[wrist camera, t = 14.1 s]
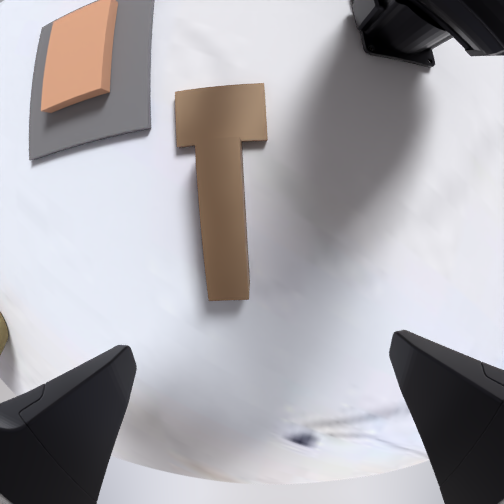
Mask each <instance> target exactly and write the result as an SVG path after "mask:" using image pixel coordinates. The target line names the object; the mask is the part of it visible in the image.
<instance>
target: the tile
mask: <svg viewBox="0 0 504 504" xmlns="http://www.w3.org/2000/svg"><path fill="white" fill-rule="evenodd" d="M117 8H118V2H117V1H116V0H99V1H97V2H94V3H92V4H90V5H87V6H85V7H83V8H81V9H78V10H76V11H74V12H72V13H70V14H68V15H66V16H64V17H62V18H60V19H58V20H56V21H54V22H53V26H52V30H51V35H50V40H49V45H48V50H47V56H46V63H45V70H44V78H43V88H42V100H41V111H43V112H48V113H52V112H55V111H57V110H60V109H62V108H65V107H68V106H70V105H73V104H76V103H78V102H81V101H84V100H87V99H90V98H93V97H96V96H99V95H102V94H106V93H109V92H110V78H111V61H112V48H113V38H114V29H115V22H116V14H117Z"/></svg>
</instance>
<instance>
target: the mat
mask: <svg viewBox="0 0 504 504" xmlns="http://www.w3.org/2000/svg"><path fill="white" fill-rule="evenodd" d="M97 1H99V0H97ZM97 1H95V2H97ZM116 1H117V2H118V8H117V14H116V22H115V29H114V38H113V48H112V61H111V78H110V92H109V93H106V94H102V95H99V96H96V97H93V98H90V99H87V100H84V101H81V102H78V103H76V104H73V105H70V106H68V107H65V108H62V109H60V110H57V111H55V112H52V113H48V112H43V111H41V100H42V88H43V78H44V70H45V63H46V56H47V50H48V45H49V40H50V35H51V30H52V26H53V22H54V21H53V22H51V23H49V24H48V25H46V26H44V27H42V30H41V34H40V39H39V44H38V49H37V54H36V60H35V66H34V73H33V81H32V90H31V101H30V117H29V160H35V159H38V158H41V157H43V156H46V155H49V154H52V153H55V152H58V151H62V150H65V149H68V148H71V147H75V146H78V145H82V144H85V143H89V142H92V141H96V140H100V139H104V138H108V137H112V136H117V135H121V134H126V133H130V132H135V131H140V130H145V129H150V128H151V107H150V67H151V39H152V23H153V10H154V0H116ZM92 3H94V2H92ZM92 3H90V4H92ZM90 4H88V5H90ZM86 6H87V5H86ZM83 7H85V6H83ZM83 7H81V8H83ZM81 8H79V9H81ZM77 10H78V9H77ZM75 11H76V10H75ZM73 12H74V11H73ZM70 13H72V12H70ZM70 13H68V14H70ZM68 14H66V15H68ZM66 15H64V16H66ZM64 16H62V17H64ZM62 17H61V18H62ZM59 19H60V18H59ZM57 20H58V19H57ZM55 21H56V20H55Z"/></svg>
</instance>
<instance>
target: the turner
mask: <svg viewBox="0 0 504 504" xmlns="http://www.w3.org/2000/svg"><path fill="white" fill-rule="evenodd" d="M175 114H176V140H177V147H179V148H181V147H190V146H195V155H196V172H197V186H198V199H199V212H200V223H201V234H202V245H203V255H204V264H205V273H206V282H207V291H208V299H209V301H221V300H249V288H250V278H249V261H248V244H247V227H246V209H245V192H244V174H243V156H242V142H249V141H267V140H268V139H267V122H266V106H265V90H264V83H258V84H239V85H226V86H216V87H206V88H198V89H191V90H184V91H177V92H175Z"/></svg>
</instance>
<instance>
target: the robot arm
mask: <svg viewBox="0 0 504 504" xmlns="http://www.w3.org/2000/svg"><path fill="white" fill-rule="evenodd" d="M352 8H353V12H354V16H355V21H356V25H357V28H358V29H359V30H360V32H361V37H362V42H363V47H364V50H365V52H366V53H368V54H370V55H375V56H380V57H386V58H391V59H396V60H401V61H405V62H410V63H414V64H418V65H422V66H425V67H430V68H431V67H433V66H434V65H435V61H434V56H433V52H432V49H433V48H435V47H437V46H438V45H440V44H442V43H444V42H446V41H447V40H449V39H451V38H455V39H456V40H457V41H458V42H459V43H460V44H461V45H462V46H463V47H464V48H465V51H466V52H467V53H468V54H469V55H470V56H493V55H504V0H353V4H352ZM369 47H371V48H372V49H373V50H370V49H369ZM428 60H429V61H430V63H429V62H428ZM389 356H390V360H391V363H392V366H393V369H394V372H395V375H396V378H397V381H398V384H399V387H400V390H401V392H402V395H403V397H404V399H405V401H406V404H407V406H408V408H409V410H410V413H411V415H412V417H413V420H414V422H415V424H416V427H417V429H418V432H419V434H420V437H421V439H422V441H423V444H424V446H425V449H426V452H427V454H428V457H429V459H430V462H431V465H432V467H433V470H434V473H435V476H436V478H437V481H438V484H439V486H440V491H441V494H442V497H443V500H444V503H445V504H504V370H502V369H499V368H496V367H494V366H491V365H489V364H486V363H484V362H481V361H479V360H476V359H474V358H471V357H469V356H467V355H464V354H462V353H459V352H457V351H454V350H452V349H450V348H447V347H445V346H442V345H440V344H438V343H435V342H433V341H430V340H428V339H426V338H423V337H421V336H418V335H416V334H414V333H411V332H409V331H407V330H401V331H396V332H394V334H393V337H392V341H391V346H390V351H389ZM136 369H137V368H136V362H135V359H134V356H133V353H132V350H131V348H130V347H129V346H128V345H117V346H115V347H114V348H112V349H110V350H108V351H106V352H104V353H102V354H100V355H98V356H97V357H95V358H93V359H91V360H89V361H87V362H85V363H83V364H81V365H80V366H78V367H76V368H74V369H72V370H70V371H68V372H66V373H64V374H62V375H60V376H58V377H56V378H55V379H53V380H51V381H49V382H47V383H46V384H43V385H41V386H39V387H37V388H35V389H33V390H31V391H29V392H27V393H24V394H22V395H20V396H17V397H15V398H12V399H10V400H8V401H5V402H2V403H0V504H97V500H98V496H99V492H100V489H101V485H102V482H103V479H104V475H105V472H106V469H107V465H108V462H109V459H110V456H111V453H112V450H113V447H114V444H115V441H116V438H117V435H118V432H119V429H120V426H121V423H122V420H123V418H124V415H125V412H126V409H127V406H128V403H129V399H130V394H131V390H132V386H133V382H134V378H135V374H136Z"/></svg>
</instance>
